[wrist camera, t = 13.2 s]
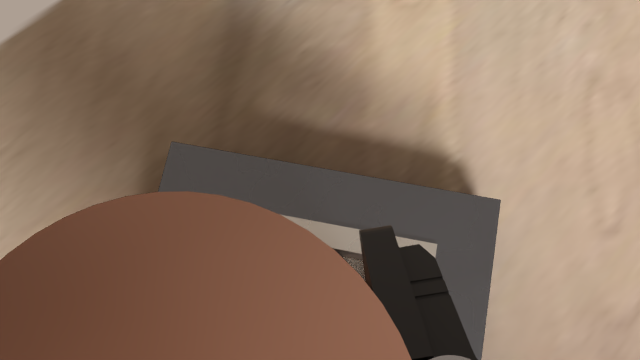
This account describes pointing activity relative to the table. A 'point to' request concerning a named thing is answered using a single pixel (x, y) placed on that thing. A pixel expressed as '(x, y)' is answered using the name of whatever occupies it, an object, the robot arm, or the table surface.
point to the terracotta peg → (186, 288)
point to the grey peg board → (358, 215)
